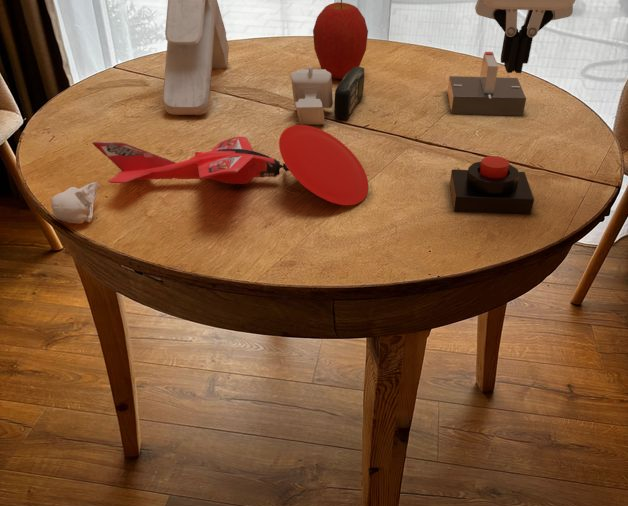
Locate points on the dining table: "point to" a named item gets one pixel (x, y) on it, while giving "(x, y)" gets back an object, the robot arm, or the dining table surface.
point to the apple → (340, 38)
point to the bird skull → (75, 203)
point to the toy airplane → (193, 163)
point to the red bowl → (323, 165)
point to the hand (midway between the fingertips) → (512, 69)
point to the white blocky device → (311, 94)
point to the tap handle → (488, 73)
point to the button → (494, 167)
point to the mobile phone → (349, 92)
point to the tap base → (485, 97)
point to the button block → (490, 191)
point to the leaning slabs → (192, 54)
